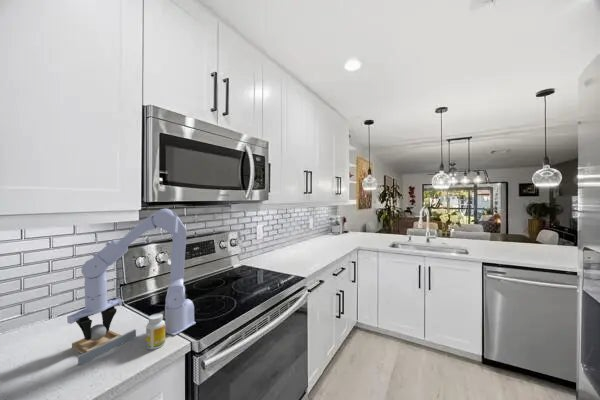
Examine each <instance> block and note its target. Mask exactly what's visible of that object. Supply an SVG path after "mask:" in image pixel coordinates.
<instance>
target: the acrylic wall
mask: <svg viewBox="0 0 600 400" xmlns="http://www.w3.org/2000/svg"><path fill="white" fill-rule="evenodd" d="M120 335H121V336H119V337H117V338H115V339H113V340H111V341H109V342H107V343H105V344H103V345H100V346H98V347H96V348H94V349H92V350H90V351H88V352H86V353H84V354H82V353H81V354H79V355H78V356H77V365H78V366H81V365H83V364H86V363H87V362H90V361H91V360H93V359H95V358H97V357H99V356H101V355H103V354H105V353H108V352H109V351H111V350H113V349H115V348H117V347H119V346H121V345H123V344H125V343H127V342H130V341H131V340H133V339H135V338H136V337H137V329H135V328H134V329H132V330H130V331H128V332H126V333H123V334H120Z"/></svg>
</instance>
